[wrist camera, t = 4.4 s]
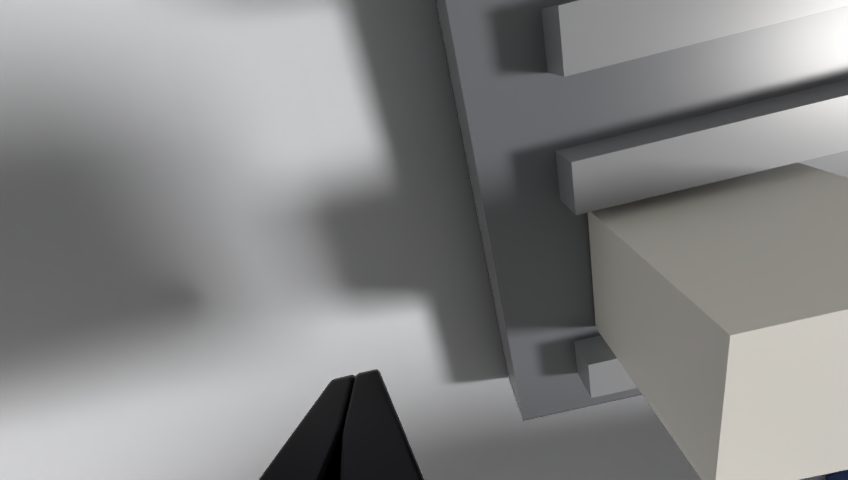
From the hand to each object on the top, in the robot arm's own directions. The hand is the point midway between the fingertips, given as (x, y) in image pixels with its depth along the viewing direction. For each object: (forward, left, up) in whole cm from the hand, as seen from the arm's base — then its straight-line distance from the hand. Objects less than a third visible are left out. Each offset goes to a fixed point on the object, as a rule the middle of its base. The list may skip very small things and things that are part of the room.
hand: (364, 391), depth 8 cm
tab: (+7, 0, -2) cm, 7 cm away
